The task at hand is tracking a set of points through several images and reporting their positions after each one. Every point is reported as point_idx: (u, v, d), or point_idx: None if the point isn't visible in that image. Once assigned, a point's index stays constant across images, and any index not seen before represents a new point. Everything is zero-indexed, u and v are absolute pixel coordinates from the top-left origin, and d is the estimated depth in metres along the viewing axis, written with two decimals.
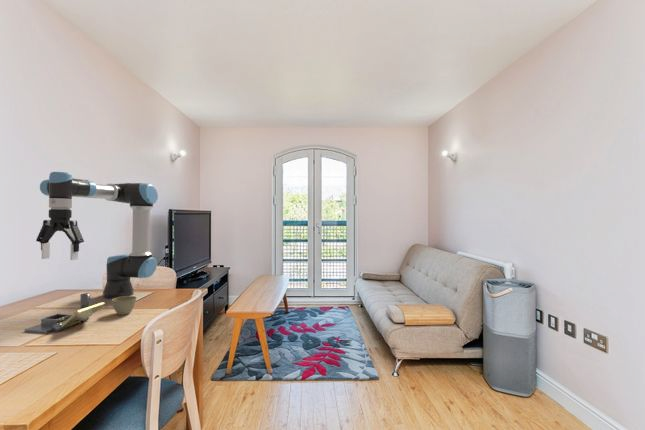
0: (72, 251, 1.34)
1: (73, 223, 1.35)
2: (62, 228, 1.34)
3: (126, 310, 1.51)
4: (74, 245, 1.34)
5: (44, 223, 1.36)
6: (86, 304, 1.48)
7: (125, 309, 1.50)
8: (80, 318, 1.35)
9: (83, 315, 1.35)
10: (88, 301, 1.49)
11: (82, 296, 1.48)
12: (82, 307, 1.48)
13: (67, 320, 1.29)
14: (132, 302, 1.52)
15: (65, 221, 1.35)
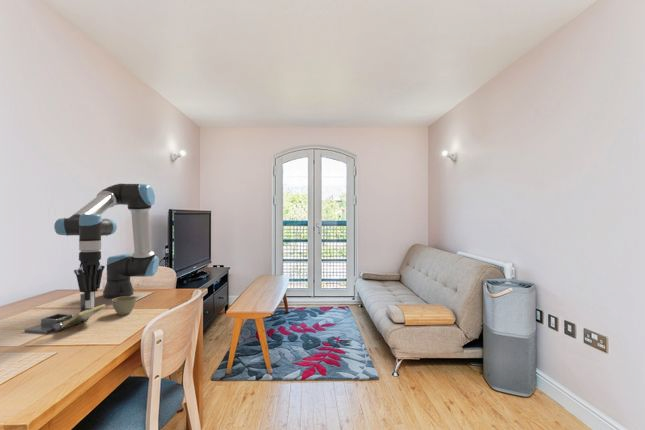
0: None
1: (76, 273, 1.29)
2: None
3: (126, 310, 1.51)
4: None
5: None
6: None
7: (125, 309, 1.50)
8: (80, 319, 1.35)
9: (84, 316, 1.35)
10: None
11: (82, 296, 1.48)
12: (82, 307, 1.48)
13: (68, 321, 1.29)
14: (132, 302, 1.52)
15: None
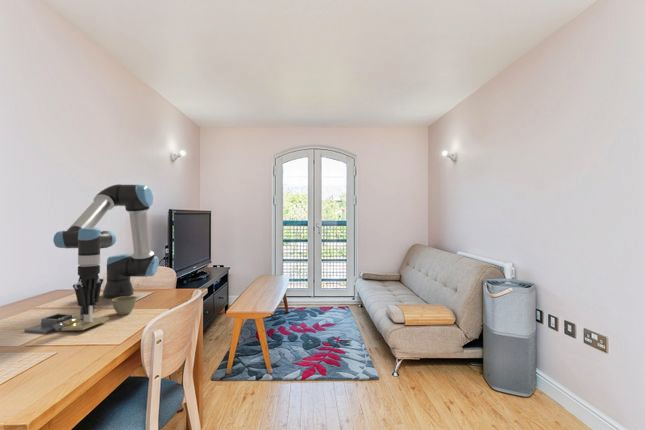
0: None
1: (75, 288, 1.29)
2: None
3: (126, 310, 1.51)
4: None
5: None
6: None
7: (125, 309, 1.50)
8: None
9: None
10: None
11: None
12: (82, 307, 1.48)
13: (69, 328, 1.28)
14: (132, 302, 1.52)
15: None
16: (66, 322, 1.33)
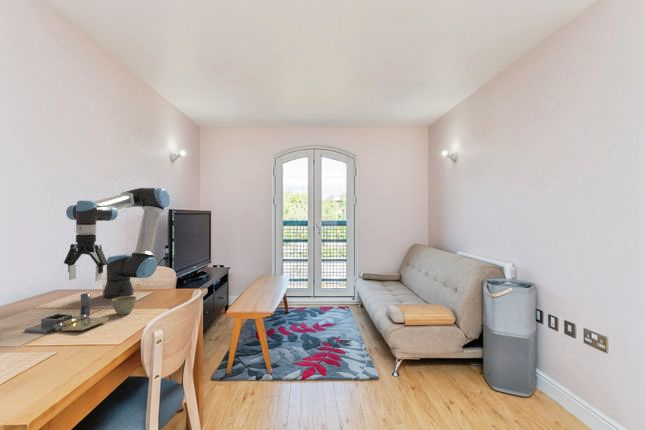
0: (97, 273, 1.47)
1: (98, 247, 1.48)
2: (88, 252, 1.47)
3: (126, 310, 1.51)
4: (99, 267, 1.48)
5: (71, 247, 1.49)
6: (86, 304, 1.48)
7: (125, 309, 1.50)
8: None
9: None
10: (88, 301, 1.49)
11: (82, 296, 1.48)
12: (82, 307, 1.48)
13: (69, 328, 1.28)
14: (132, 302, 1.52)
15: (90, 245, 1.48)
16: (66, 322, 1.33)
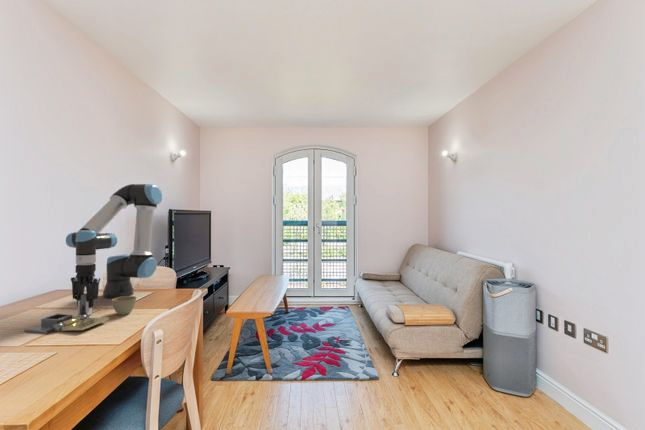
0: (87, 307, 1.48)
1: (96, 281, 1.48)
2: (85, 283, 1.47)
3: (126, 310, 1.51)
4: (89, 302, 1.48)
5: (72, 280, 1.49)
6: None
7: (125, 309, 1.50)
8: None
9: None
10: None
11: (82, 296, 1.48)
12: (82, 307, 1.48)
13: (69, 328, 1.28)
14: (132, 302, 1.52)
15: (91, 276, 1.48)
16: (66, 322, 1.33)
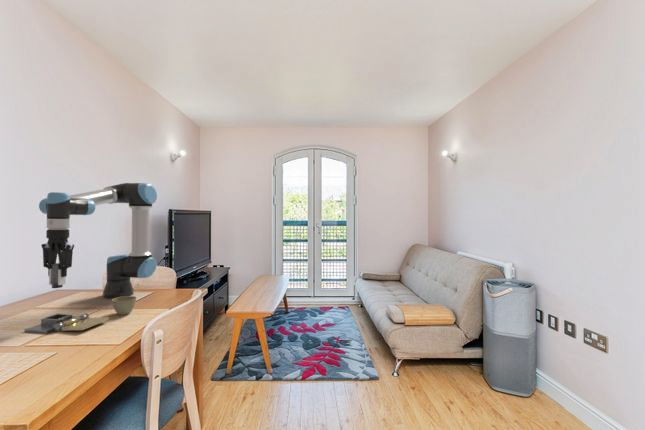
0: (60, 276, 1.35)
1: (69, 248, 1.35)
2: (57, 250, 1.34)
3: (126, 310, 1.51)
4: (62, 270, 1.35)
5: (43, 247, 1.36)
6: None
7: (125, 309, 1.50)
8: None
9: None
10: None
11: (54, 265, 1.35)
12: (54, 278, 1.35)
13: (69, 328, 1.28)
14: (132, 302, 1.52)
15: (63, 242, 1.35)
16: (66, 322, 1.33)
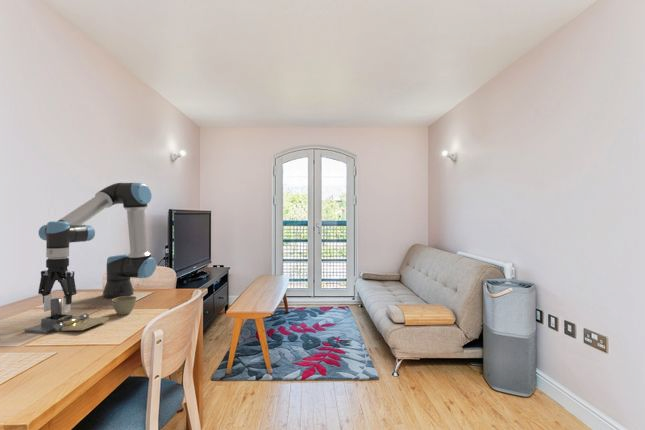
0: (65, 304, 1.35)
1: (70, 275, 1.35)
2: (58, 279, 1.34)
3: (126, 310, 1.51)
4: (67, 298, 1.35)
5: (42, 274, 1.36)
6: (57, 310, 1.35)
7: (125, 309, 1.50)
8: None
9: None
10: (59, 307, 1.36)
11: (52, 301, 1.35)
12: (53, 313, 1.35)
13: (69, 328, 1.28)
14: (132, 302, 1.52)
15: (63, 271, 1.35)
16: (66, 322, 1.33)
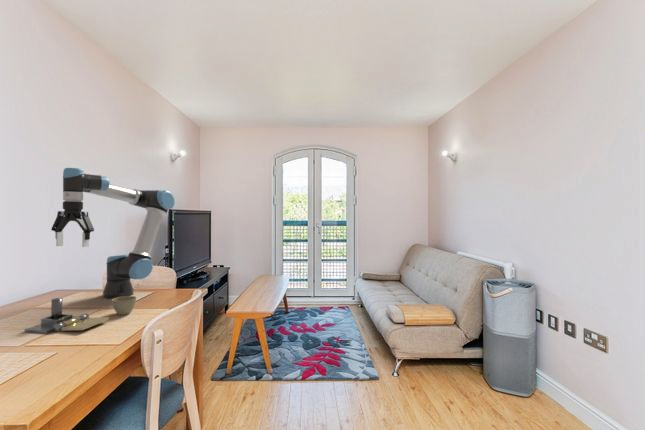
0: (84, 239, 1.49)
1: (85, 214, 1.50)
2: (75, 218, 1.49)
3: (126, 310, 1.51)
4: (85, 234, 1.50)
5: (58, 214, 1.51)
6: (58, 310, 1.36)
7: (125, 309, 1.50)
8: None
9: None
10: (60, 307, 1.36)
11: (53, 301, 1.35)
12: (53, 313, 1.35)
13: (69, 328, 1.28)
14: (132, 302, 1.52)
15: (77, 212, 1.50)
16: (66, 322, 1.33)
